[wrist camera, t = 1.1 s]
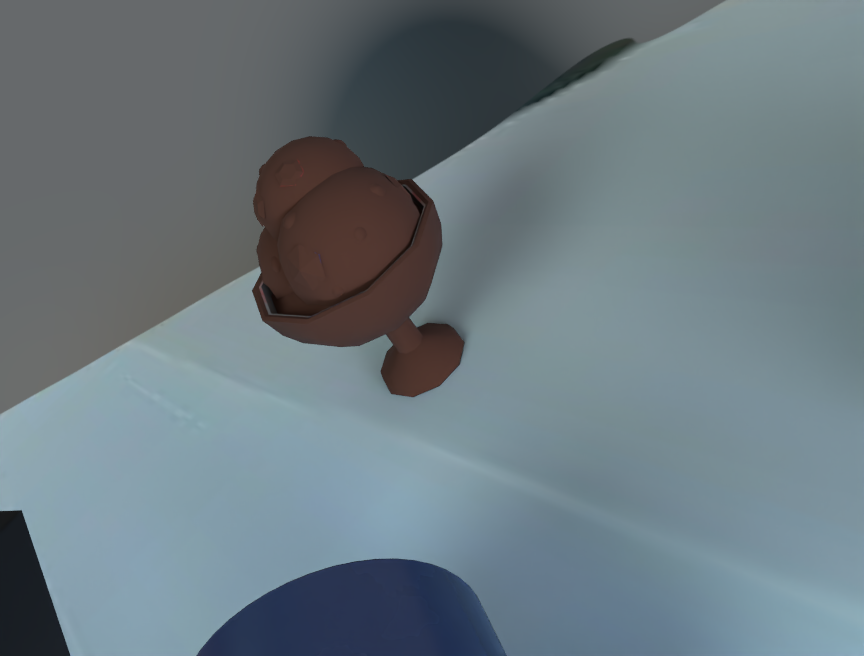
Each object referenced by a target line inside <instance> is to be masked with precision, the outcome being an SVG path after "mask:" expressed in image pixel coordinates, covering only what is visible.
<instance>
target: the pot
mask: <svg viewBox="0 0 864 656" xmlns="http://www.w3.org/2000/svg"><path fill="white" fill-rule="evenodd" d="M197 656H507V655H506V653H505V651H504V649H503V647H502V645H501V643H500V641H499V639H498V637H497V635H496V633H495V631H494V629H493V627H492V625H491V623H490V621H489V619H488V617H487V615H486V613H485V611H484V609H483V607H482V605H481V603H480V601H479V599H478V597H477V595H476V594H475V593H474V591H473V590H472V589H471V587H470V586H469V585H468V584H466V583H465V582H464V581H463V580H462V579H461V578H459V577H458V576H456V575H455V574H453V573H451V572H449V571H448V570H446V569H443V568H441V567H438V566H435V565H433V564H429V563H425V562H420V561H415V560H406V559H372V560H363V561H355V562H350V563H346V564H341V565H336V566H332V567H329V568H326V569H322V570H319V571H316V572H313V573H310V574H307V575H305V576H302V577H300V578H297V579H295V580H293V581H290V582H288V583H286V584H284V585H282V586H280V587H278V588H276V589H274V590H272V591H270V592H268V593H266V594H265V595H263V596H262V597H260V598H259V599H257V600H255V601H254V602H252V603H251V604H249V605H247V606H246V607H245V608H243V609H242V610H241V611H240V612H238V613H237V614H236V615H234V616H233V617H232V618H230V619H229V620H228V621H227V622H226V623H225V624H224V625H223V626H222V627H221V628H220V629H219V630H217V631H216V632H215V633H214V634H213V635H212V637H211V638H210V639H209V640H208V641H207V642H206V644H205V645H204V646H203V647H202V648H201V650H200V651H199V653H198V654H197Z"/></svg>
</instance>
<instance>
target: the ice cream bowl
mask: <svg viewBox="0 0 864 656" xmlns="http://www.w3.org/2000/svg"><path fill="white" fill-rule="evenodd" d="M259 175H260V176H259V179H258V181H257V187H256V194H255V197H254V200H253V205H254V212H255V215H256V217H257V220H258V221H259V222H260V224H261V225H262V226H263V225H264V226H265V228H264V230H263V232H262V233H261V235H260V239H259V244H258V246H257V254H258V260H259V266H260V269H261V274H260V276H259V278H258V280H257V282H256V284H255V286H254V288H253V290H252V292H253V295H254V297H255V300H256V303H257V306H258V309H259V312H260V315H261V318H262V321H264V322H265V323H266V324H268V325H269V326H271V327H272V328H273V329H275V330H276V331H278V332H279V333H280V334H282V335H283V336H286V337H289V338H291V339H294V340H297V341H299V342H302V343H308V344H317V345H327V346H337V347H348V346H360V345H362V344H365V343H367V342H369V341H372V340H374V339H376V338H378V337H380V336H383V335H385V334H386V335H387V336H388V338H389V339H390V341H391V342H392V343H393V346H392V347H391V348H390V349H389V350H388V351H387V353H386V356H385V359H384V363H383V366H382V369H381V374H382V377H383V379H384V381H385V383H386V385H387V387H388V389H389V391H390V392H391V394H396V395H402V396H409V397H414V396H417V395H419V394H421V393H424V392H426V391H428V390H431V389H433V388H435V387H438V386H440V385H441V384H442V382H443V381H444V380H445V379H446V378H447V377H448V376H449V375H450V374H451V373H452V372H453V371H454V370H455V369H456V367H457V366H458V365H459V363H460V359H461V355H462V351H463V346H464V341H463V340H462V339H461V337H460V336H459V335H458V333H457V332H456V331H455V329H454V328H452V327H451V326H450V325H448V324H436V323H426V324H424V325H422V326H420V327H418V328H417V327H416V326H415V325H414V324H413V322H412V321H411V320H410V318H409V316H410V315H411V314H412V313H413V312H414V311H415V310H416V309H417V308H418V307H419V306H420V305H421V304H422V303H423V302H424V300H425V299H426V297H427V294H428V291H429V288H430V286H431V283H432V279H433V276H434V272H435V269H436V266H437V262H438V259H439V255H440V252H441V248H442V230H441V222H440V219H439V216H438V213H437V210H436V208H435V205H434V202H433V200H432V199H431V198H430V197H429V196H428V195H427V194H426V193H425V192H424V191H423V190H422V189H421V188H420V187H419V186H418V185H417V184H416V183H415V182H414V181H413V180H412V179H407V180H396V179H395V178H393V177H391V176H388V175H386V174H383V173H381V172H379V171H377V170H375V169H373V168H368V167H364V166H363V164H362V162H361V160H360V159H359V158H358V156H357V155H355V154H354V153H353V152H352V151H351V150H350V149H349V148H347V146H346V144H345V143H344V142H343V141H341V140H332V139H330V138H325V137H312V136H311V137H310V136H309V137H305V138H301V139H298V140H293V141H291V142H289V143H288V144H286V145H285V146H283V147H281V148H280V149H278V150H277V151H275V153H274V154H273V155H272V156H271V158H270V159H269V160H268V161H267V162H266V164H264V165H262V167H261V168H260V169H259Z"/></svg>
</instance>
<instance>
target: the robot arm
mask: <svg viewBox="0 0 864 656" xmlns="http://www.w3.org/2000/svg"><path fill="white" fill-rule="evenodd" d="M0 656H70V653H69V650H68V647H67V645H66V642H65V639H64V636H63V633H62V630H61V627H60V624H59V621H58V618H57V615H56V612H55V609H54V606H53V603H52V600H51V597H50V594H49V591H48V588H47V585H46V582H45V579H44V576H43V573H42V570H41V567H40V564H39V561H38V558H37V555H36V552H35V549H34V546H33V543H32V540H31V537H30V534H29V531H28V528H27V525H26V522H25V519H24V516H23V513H22V510H20V511H0Z"/></svg>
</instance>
